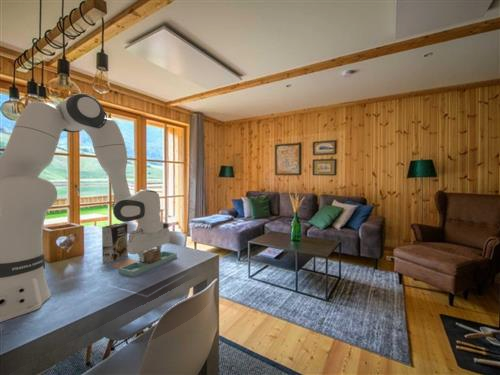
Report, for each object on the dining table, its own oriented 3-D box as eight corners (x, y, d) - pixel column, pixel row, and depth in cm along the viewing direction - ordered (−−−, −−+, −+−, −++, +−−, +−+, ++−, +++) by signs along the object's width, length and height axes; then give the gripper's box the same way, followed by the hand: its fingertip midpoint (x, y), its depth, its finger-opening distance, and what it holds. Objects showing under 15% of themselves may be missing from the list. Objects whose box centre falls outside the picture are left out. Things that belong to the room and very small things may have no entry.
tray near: (133, 277, 90) (133, 271, 90) (119, 274, 94) (118, 268, 94) (149, 270, 98) (149, 264, 98) (136, 267, 101) (136, 261, 101)
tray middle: (149, 270, 98) (149, 264, 98) (136, 267, 101) (136, 261, 101) (164, 263, 105) (164, 258, 105) (150, 261, 108) (150, 256, 108)
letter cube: (150, 267, 99) (149, 253, 99) (139, 265, 101) (139, 251, 101) (160, 263, 104) (160, 249, 104) (150, 261, 107) (150, 247, 107)
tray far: (164, 263, 105) (164, 258, 105) (150, 261, 108) (150, 256, 108) (176, 258, 112) (176, 253, 112) (163, 255, 116) (163, 251, 115)
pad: (125, 270, 97) (125, 268, 97) (111, 267, 101) (111, 265, 101) (143, 263, 105) (143, 261, 105) (129, 260, 109) (129, 258, 109)
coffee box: (114, 263, 106) (113, 227, 105) (101, 262, 107) (101, 226, 106) (128, 256, 114) (128, 223, 114) (117, 255, 116) (116, 222, 115)
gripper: (134, 232, 91) (135, 267, 92) (171, 223, 110) (172, 252, 111) (123, 231, 94) (123, 265, 95) (161, 222, 113) (162, 250, 113)
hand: (150, 258), depth 103 cm, fingers open, 6 cm apart
